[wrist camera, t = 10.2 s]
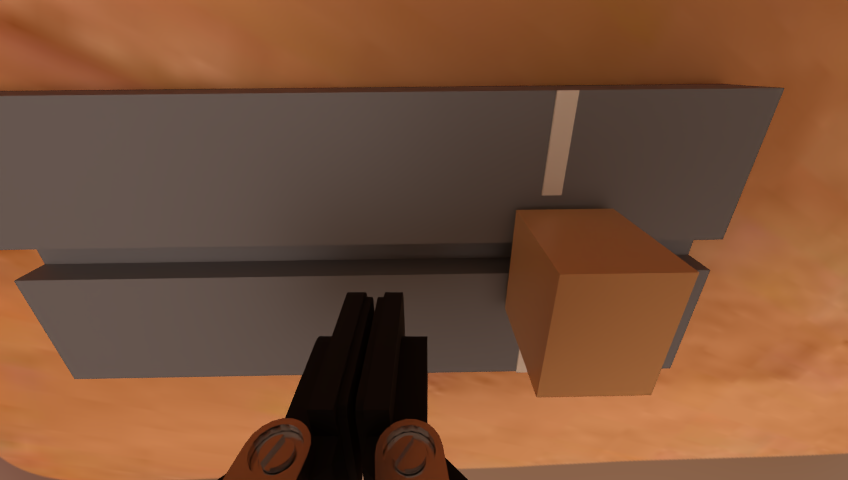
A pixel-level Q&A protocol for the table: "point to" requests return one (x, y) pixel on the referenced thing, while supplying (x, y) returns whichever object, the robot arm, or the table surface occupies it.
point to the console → (338, 209)
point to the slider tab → (593, 302)
